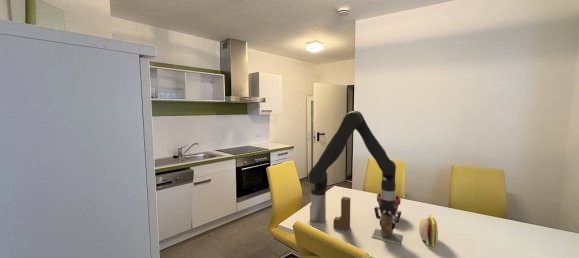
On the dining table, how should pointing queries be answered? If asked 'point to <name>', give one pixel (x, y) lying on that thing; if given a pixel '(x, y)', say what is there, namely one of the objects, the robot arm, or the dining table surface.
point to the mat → (394, 238)
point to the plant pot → (395, 202)
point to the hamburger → (428, 230)
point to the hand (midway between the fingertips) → (387, 227)
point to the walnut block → (386, 225)
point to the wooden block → (343, 215)
